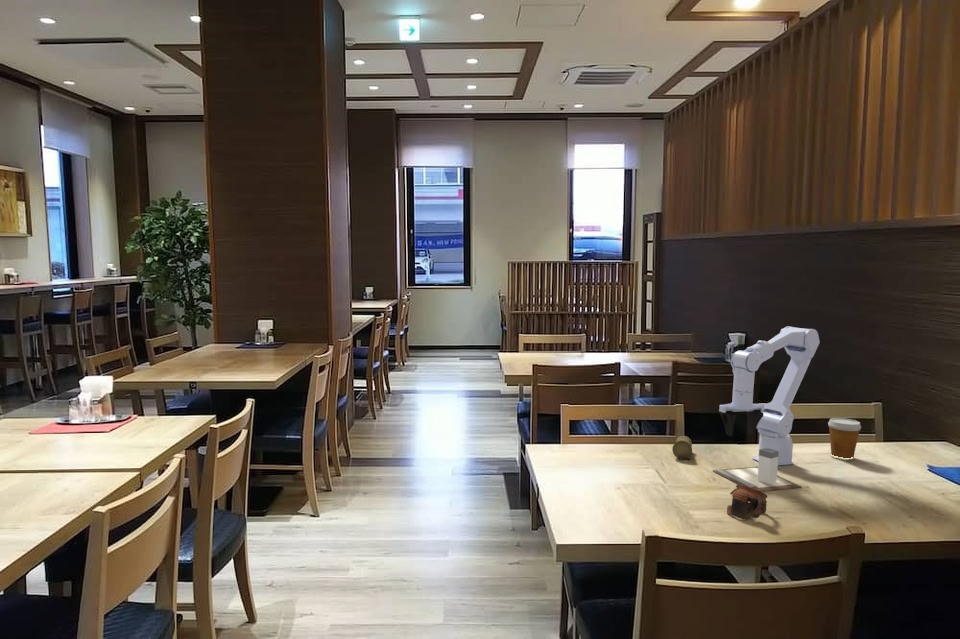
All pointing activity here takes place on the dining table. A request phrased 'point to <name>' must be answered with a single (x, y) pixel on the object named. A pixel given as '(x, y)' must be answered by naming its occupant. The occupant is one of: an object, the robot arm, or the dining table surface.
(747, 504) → the pottery mug
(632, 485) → the dining table surface
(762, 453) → the long rectangular beam
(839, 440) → the disposable coffee cup
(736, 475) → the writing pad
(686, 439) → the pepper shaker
